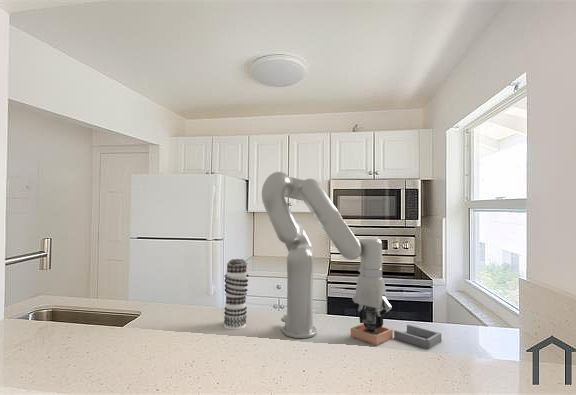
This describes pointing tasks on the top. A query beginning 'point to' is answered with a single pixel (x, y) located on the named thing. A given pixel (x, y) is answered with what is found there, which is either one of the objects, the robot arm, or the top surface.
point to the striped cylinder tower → (235, 294)
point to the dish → (375, 339)
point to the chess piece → (370, 321)
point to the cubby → (426, 343)
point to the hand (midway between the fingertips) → (371, 324)
